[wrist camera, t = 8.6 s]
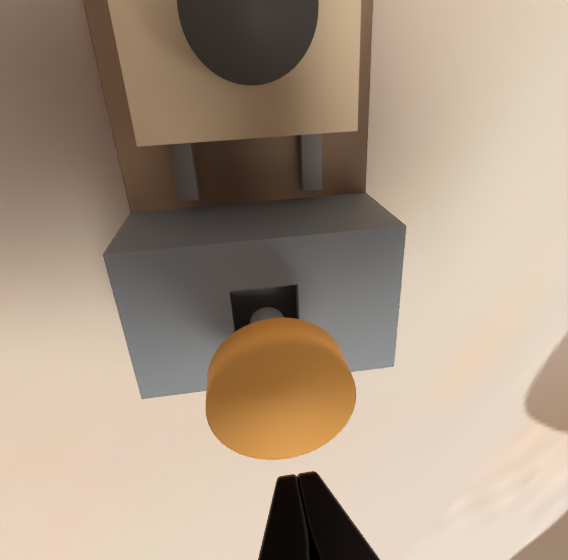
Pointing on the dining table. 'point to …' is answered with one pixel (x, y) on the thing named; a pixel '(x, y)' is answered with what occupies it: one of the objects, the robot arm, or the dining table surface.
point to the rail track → (230, 146)
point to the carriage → (238, 67)
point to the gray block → (254, 280)
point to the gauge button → (278, 388)
